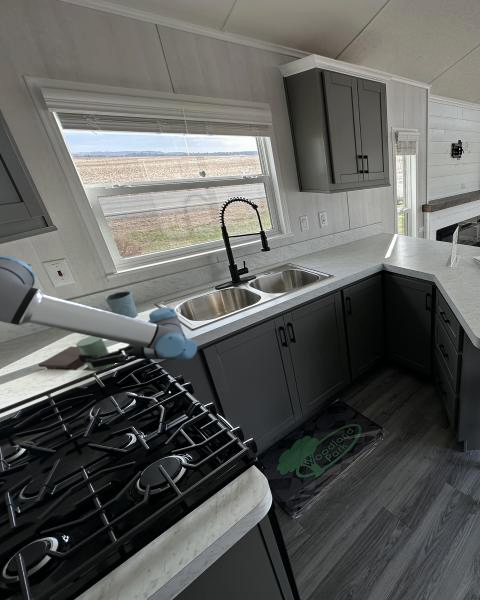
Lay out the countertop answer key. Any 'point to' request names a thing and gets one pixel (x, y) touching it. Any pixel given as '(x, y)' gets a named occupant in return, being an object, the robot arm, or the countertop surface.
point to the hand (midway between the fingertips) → (98, 347)
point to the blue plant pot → (122, 304)
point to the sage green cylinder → (93, 350)
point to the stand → (64, 360)
